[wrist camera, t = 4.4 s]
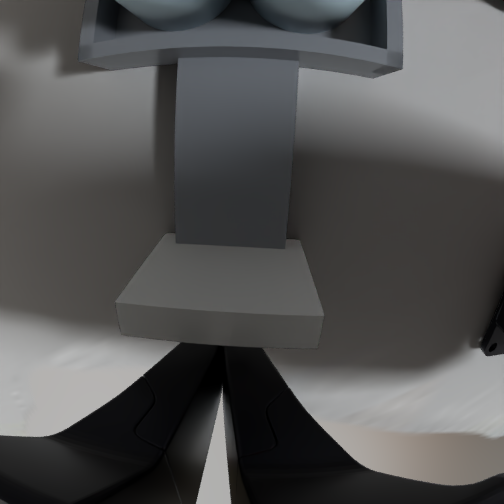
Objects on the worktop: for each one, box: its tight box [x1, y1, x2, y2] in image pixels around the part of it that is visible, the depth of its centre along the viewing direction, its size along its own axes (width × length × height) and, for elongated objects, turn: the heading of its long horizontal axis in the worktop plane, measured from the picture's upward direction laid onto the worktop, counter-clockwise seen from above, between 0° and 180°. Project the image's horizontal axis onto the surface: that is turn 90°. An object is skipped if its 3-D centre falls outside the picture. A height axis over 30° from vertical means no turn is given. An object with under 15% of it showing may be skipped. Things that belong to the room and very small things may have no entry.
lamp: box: [78, 0, 403, 349], centre depth 6 cm, size 8×10×4 cm
